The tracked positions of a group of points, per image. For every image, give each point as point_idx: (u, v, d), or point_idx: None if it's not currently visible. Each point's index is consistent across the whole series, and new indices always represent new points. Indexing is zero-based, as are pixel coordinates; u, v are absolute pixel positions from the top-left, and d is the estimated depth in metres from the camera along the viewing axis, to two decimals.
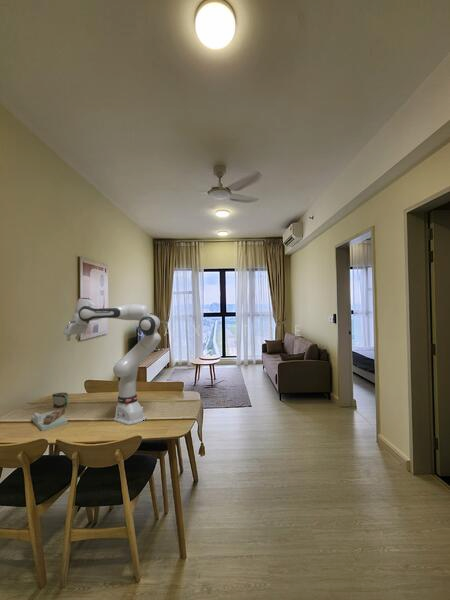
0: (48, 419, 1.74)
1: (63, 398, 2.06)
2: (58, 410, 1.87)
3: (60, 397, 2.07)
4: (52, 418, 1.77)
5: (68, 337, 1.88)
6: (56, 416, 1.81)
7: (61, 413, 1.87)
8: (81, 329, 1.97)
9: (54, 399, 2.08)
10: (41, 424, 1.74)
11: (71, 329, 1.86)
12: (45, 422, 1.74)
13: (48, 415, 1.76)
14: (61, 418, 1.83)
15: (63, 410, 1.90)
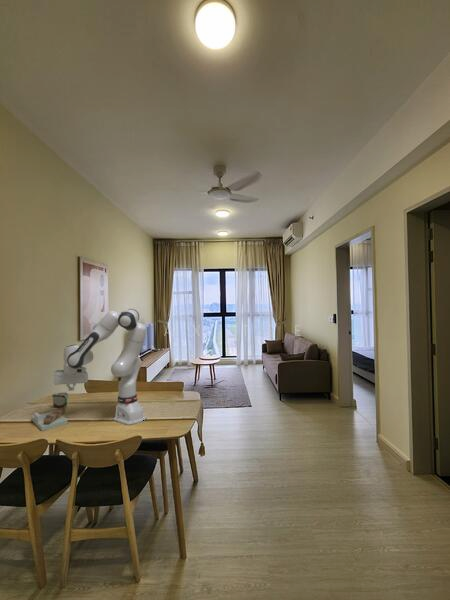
0: (48, 419, 1.74)
1: (63, 398, 2.06)
2: (58, 410, 1.87)
3: (60, 397, 2.07)
4: (52, 418, 1.77)
5: None
6: (56, 416, 1.81)
7: (61, 413, 1.87)
8: (76, 379, 1.88)
9: (54, 399, 2.08)
10: (41, 424, 1.74)
11: (57, 378, 1.86)
12: (45, 422, 1.74)
13: (48, 415, 1.76)
14: (61, 418, 1.83)
15: (63, 410, 1.90)
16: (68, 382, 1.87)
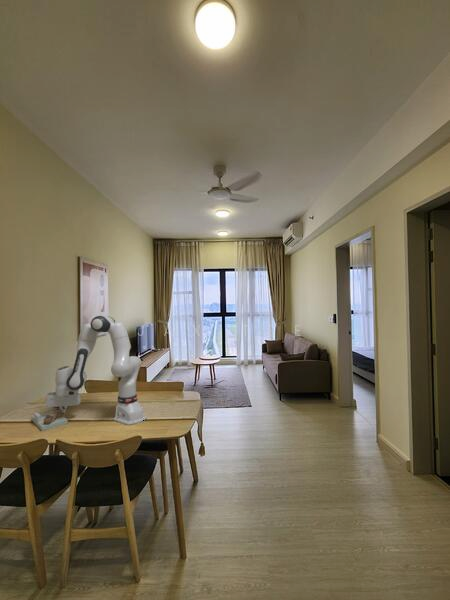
0: (48, 419, 1.74)
1: None
2: (57, 410, 1.87)
3: None
4: (52, 418, 1.77)
5: None
6: (56, 416, 1.81)
7: (60, 413, 1.87)
8: (68, 401, 1.87)
9: None
10: (41, 424, 1.74)
11: (49, 401, 1.85)
12: (45, 422, 1.74)
13: (48, 415, 1.76)
14: (61, 418, 1.83)
15: None
16: (60, 405, 1.86)
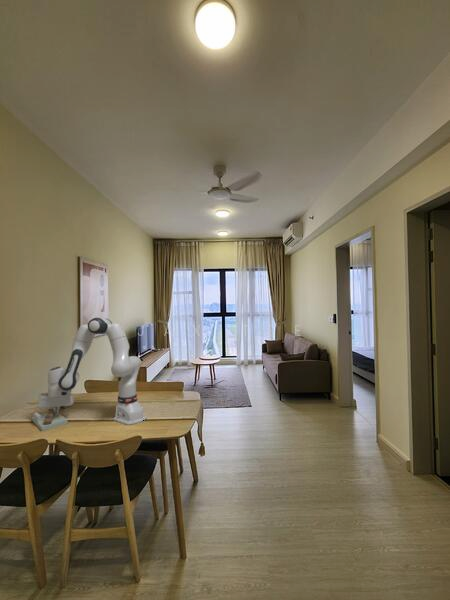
0: (50, 419, 1.74)
1: None
2: (51, 411, 1.86)
3: None
4: (51, 418, 1.78)
5: None
6: (52, 416, 1.82)
7: (54, 413, 1.87)
8: (61, 401, 1.87)
9: None
10: (41, 424, 1.74)
11: (41, 402, 1.84)
12: (46, 422, 1.74)
13: (48, 415, 1.76)
14: (61, 418, 1.83)
15: None
16: (53, 405, 1.86)
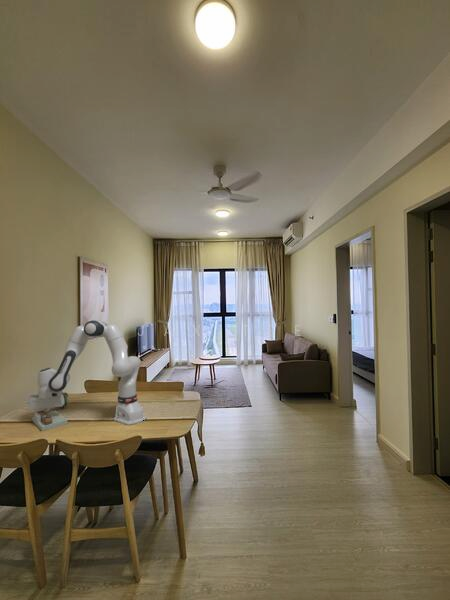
0: (51, 418, 1.75)
1: None
2: (42, 412, 1.83)
3: None
4: None
5: None
6: None
7: None
8: (51, 403, 1.85)
9: None
10: (41, 424, 1.74)
11: (31, 403, 1.82)
12: (47, 422, 1.74)
13: (48, 415, 1.76)
14: (61, 418, 1.83)
15: None
16: (43, 407, 1.84)
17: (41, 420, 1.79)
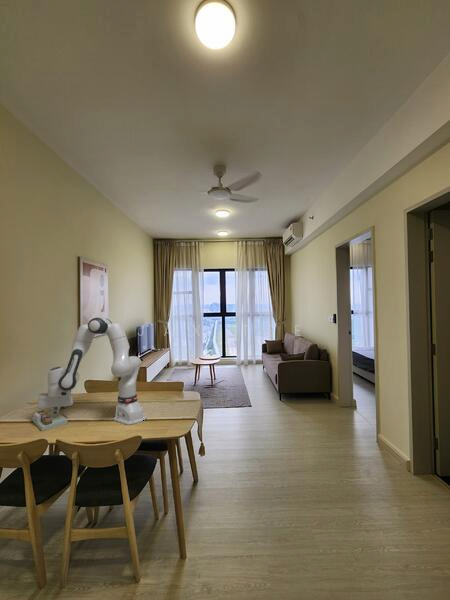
0: (51, 418, 1.75)
1: None
2: (42, 412, 1.83)
3: None
4: None
5: None
6: None
7: None
8: (60, 402, 1.86)
9: None
10: (41, 424, 1.74)
11: (41, 402, 1.84)
12: (47, 422, 1.74)
13: (48, 415, 1.76)
14: (61, 418, 1.83)
15: None
16: (52, 405, 1.85)
17: (41, 420, 1.79)
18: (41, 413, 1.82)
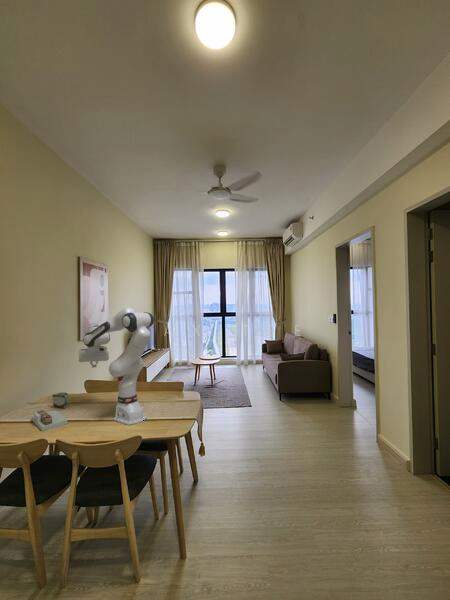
0: (51, 418, 1.75)
1: (63, 398, 2.06)
2: (42, 412, 1.83)
3: (60, 397, 2.07)
4: None
5: None
6: None
7: None
8: (98, 357, 2.09)
9: (54, 399, 2.08)
10: (41, 424, 1.74)
11: (81, 356, 2.06)
12: (47, 422, 1.74)
13: (48, 415, 1.76)
14: (61, 418, 1.83)
15: None
16: (91, 360, 2.08)
17: (41, 420, 1.79)
18: (41, 413, 1.82)
